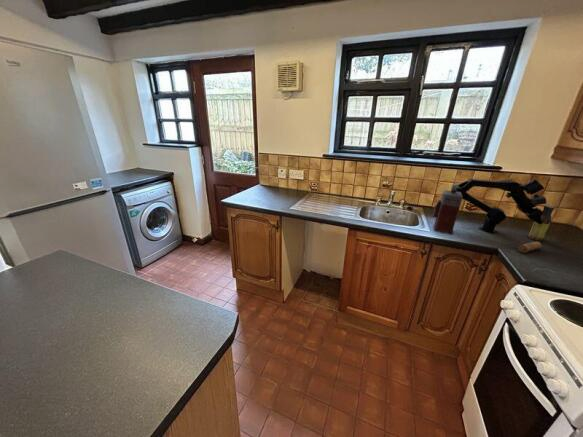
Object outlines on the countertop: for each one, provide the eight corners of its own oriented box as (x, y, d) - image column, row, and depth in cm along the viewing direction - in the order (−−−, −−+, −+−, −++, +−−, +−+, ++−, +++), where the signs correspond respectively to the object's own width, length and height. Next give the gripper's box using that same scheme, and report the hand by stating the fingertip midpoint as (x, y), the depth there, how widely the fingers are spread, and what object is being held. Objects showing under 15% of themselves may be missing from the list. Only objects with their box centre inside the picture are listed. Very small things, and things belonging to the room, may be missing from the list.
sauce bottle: (544, 242, 137) (562, 209, 129) (532, 240, 138) (548, 208, 130) (536, 236, 143) (552, 205, 135) (524, 235, 144) (539, 204, 136)
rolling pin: (523, 254, 123) (526, 248, 122) (514, 250, 127) (517, 244, 125) (541, 249, 129) (545, 243, 127) (532, 246, 132) (535, 239, 130)
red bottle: (429, 224, 153) (441, 181, 142) (450, 228, 149) (463, 184, 137) (430, 230, 146) (441, 185, 135) (451, 234, 141) (465, 187, 130)
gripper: (547, 195, 124) (564, 219, 125) (531, 186, 140) (547, 207, 140) (521, 207, 130) (538, 230, 131) (509, 197, 146) (524, 217, 146)
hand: (537, 220), depth 137 cm, fingers open, 9 cm apart
